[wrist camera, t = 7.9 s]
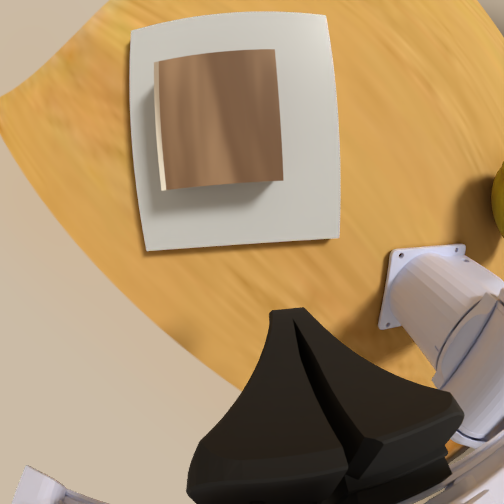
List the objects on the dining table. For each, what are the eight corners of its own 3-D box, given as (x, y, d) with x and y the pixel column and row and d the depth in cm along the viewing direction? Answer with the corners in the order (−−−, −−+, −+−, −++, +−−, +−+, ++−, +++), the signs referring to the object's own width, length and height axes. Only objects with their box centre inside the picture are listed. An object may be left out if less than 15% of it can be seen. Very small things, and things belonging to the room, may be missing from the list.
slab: (274, 49, 12) (153, 62, 12) (283, 180, 15) (161, 190, 15) (270, 62, 15) (165, 73, 14) (277, 176, 17) (172, 185, 17)
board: (322, 20, 14) (325, 15, 13) (335, 233, 20) (339, 237, 19) (135, 35, 14) (131, 30, 13) (150, 246, 20) (146, 251, 19)
